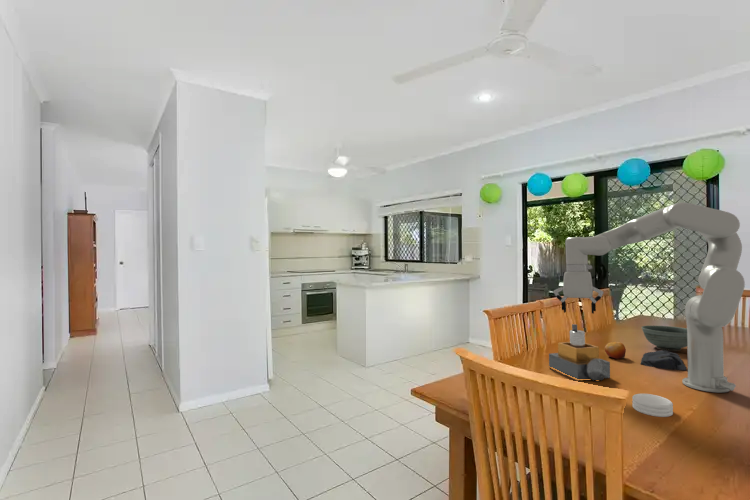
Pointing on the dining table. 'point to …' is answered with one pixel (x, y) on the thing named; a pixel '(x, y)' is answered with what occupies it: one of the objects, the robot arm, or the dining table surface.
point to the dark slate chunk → (663, 360)
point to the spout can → (577, 337)
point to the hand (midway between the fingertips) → (578, 312)
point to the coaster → (652, 405)
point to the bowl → (666, 337)
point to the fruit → (615, 350)
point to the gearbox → (580, 362)
